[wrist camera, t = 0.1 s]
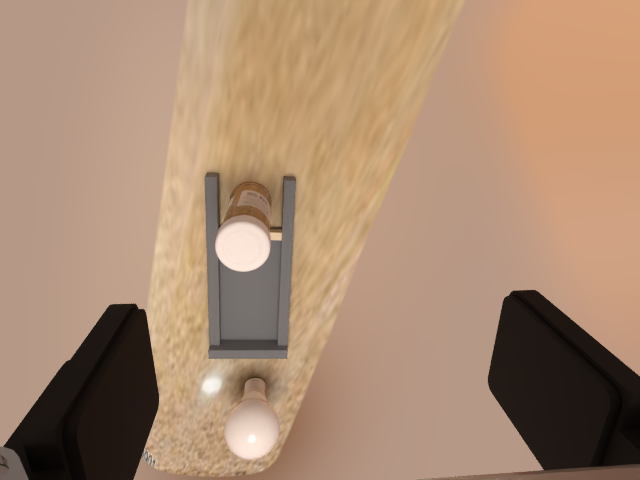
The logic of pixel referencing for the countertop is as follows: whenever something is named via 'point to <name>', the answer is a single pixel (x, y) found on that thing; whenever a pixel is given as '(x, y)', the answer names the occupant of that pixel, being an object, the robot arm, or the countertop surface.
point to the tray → (249, 289)
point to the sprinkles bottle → (245, 229)
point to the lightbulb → (252, 423)
